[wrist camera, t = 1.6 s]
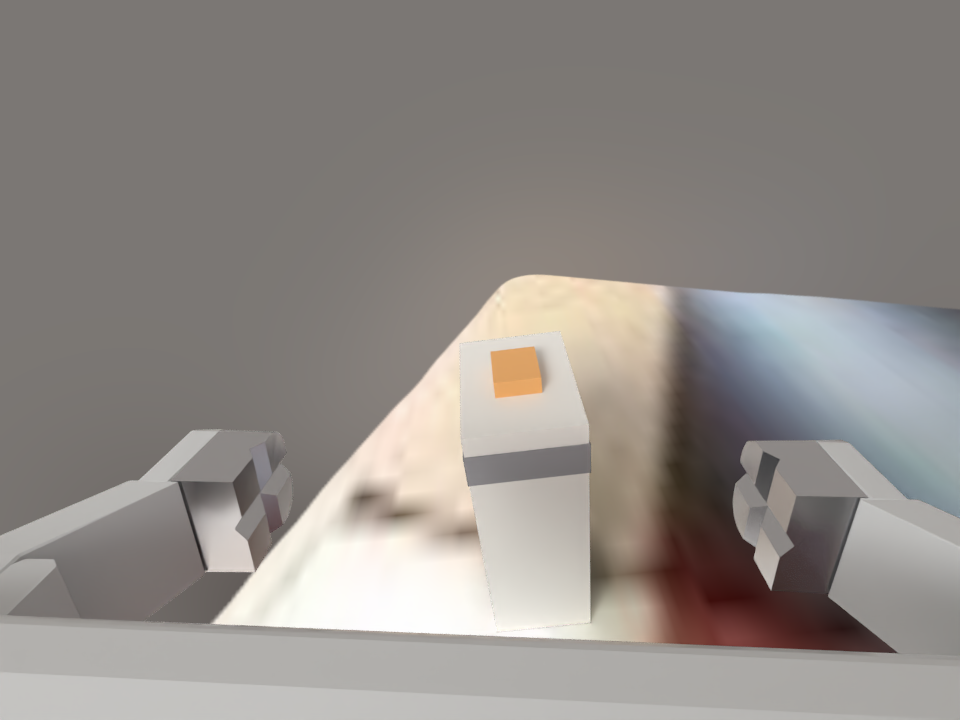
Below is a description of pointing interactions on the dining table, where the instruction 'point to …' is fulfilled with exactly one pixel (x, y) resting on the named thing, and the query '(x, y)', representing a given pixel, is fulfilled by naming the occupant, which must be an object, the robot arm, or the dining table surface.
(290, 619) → the dining table surface
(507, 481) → the block
